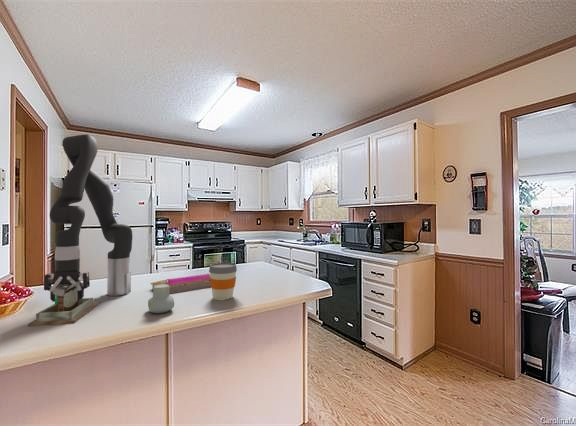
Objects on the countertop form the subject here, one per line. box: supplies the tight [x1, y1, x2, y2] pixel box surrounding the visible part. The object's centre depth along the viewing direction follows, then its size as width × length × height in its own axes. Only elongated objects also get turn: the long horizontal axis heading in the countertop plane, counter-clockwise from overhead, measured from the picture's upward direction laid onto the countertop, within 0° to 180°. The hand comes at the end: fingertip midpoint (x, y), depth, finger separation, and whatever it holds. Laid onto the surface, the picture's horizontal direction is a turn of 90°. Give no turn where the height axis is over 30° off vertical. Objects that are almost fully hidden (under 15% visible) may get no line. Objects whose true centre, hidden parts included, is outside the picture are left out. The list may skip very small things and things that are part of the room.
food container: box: [53, 282, 83, 312], centre depth 108 cm, size 12×6×10 cm, turn 7°
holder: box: [27, 297, 100, 327], centre depth 109 cm, size 14×20×4 cm
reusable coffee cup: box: [208, 262, 237, 301], centre depth 132 cm, size 13×13×15 cm
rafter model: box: [150, 273, 211, 294], centre depth 150 cm, size 35×14×6 cm, turn 128°
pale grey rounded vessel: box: [147, 284, 175, 314], centre depth 113 cm, size 11×8×10 cm
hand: (67, 300), depth 109 cm, fingers open, 8 cm apart
